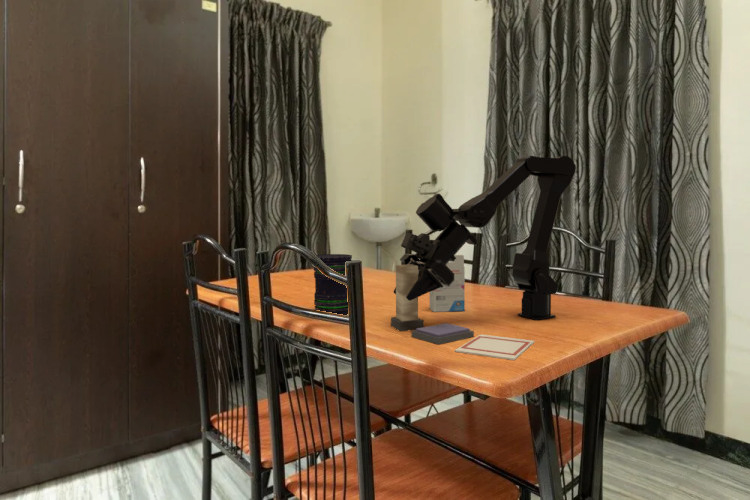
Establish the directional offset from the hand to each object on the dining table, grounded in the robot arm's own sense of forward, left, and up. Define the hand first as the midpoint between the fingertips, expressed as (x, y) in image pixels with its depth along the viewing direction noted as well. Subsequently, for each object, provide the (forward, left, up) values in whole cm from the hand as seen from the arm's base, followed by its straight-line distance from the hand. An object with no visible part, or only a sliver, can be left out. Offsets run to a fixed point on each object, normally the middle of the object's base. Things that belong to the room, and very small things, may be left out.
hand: (401, 296), depth 112 cm
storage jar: (+7, -22, -7) cm, 25 cm away
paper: (-8, +23, -7) cm, 25 cm away
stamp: (-1, 0, -7) cm, 7 cm away
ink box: (-21, -12, -7) cm, 26 cm away
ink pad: (-3, +11, -7) cm, 14 cm away
